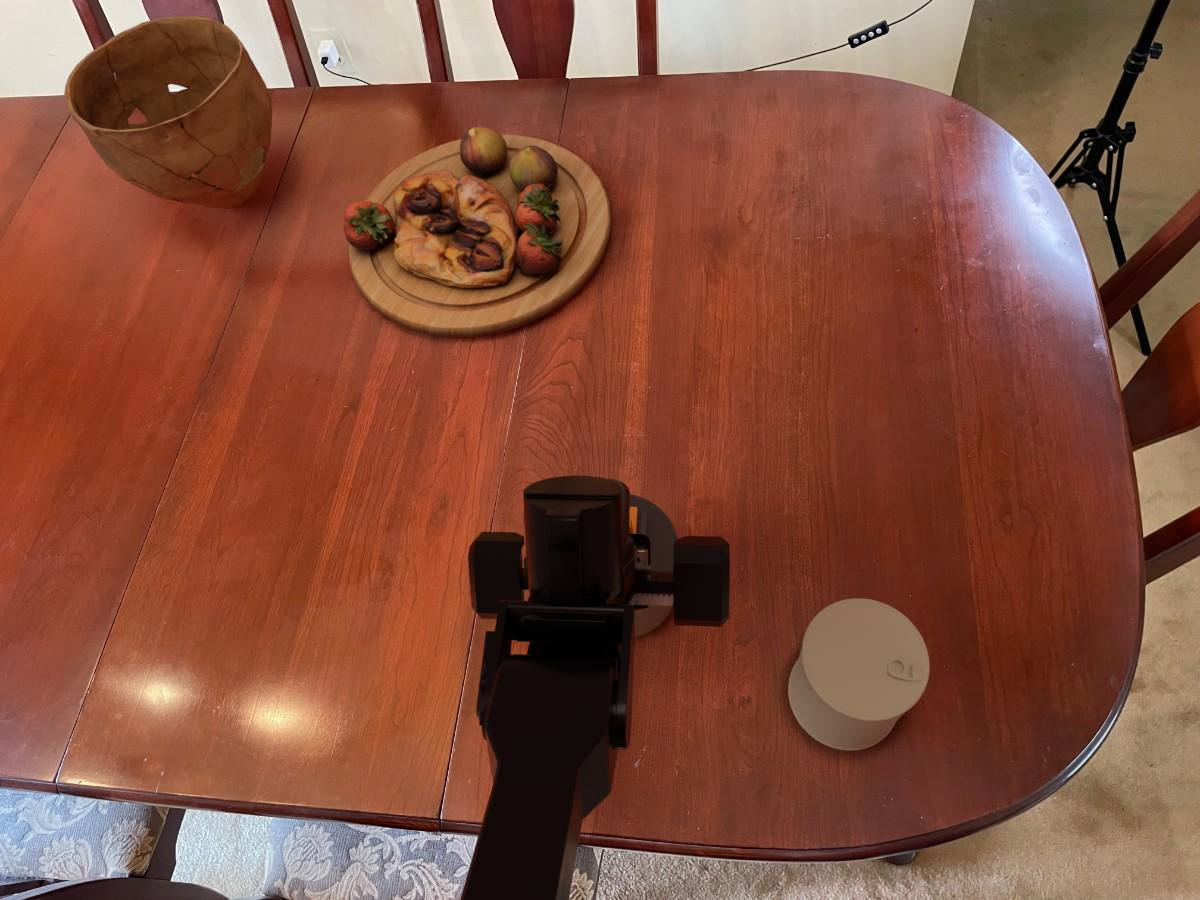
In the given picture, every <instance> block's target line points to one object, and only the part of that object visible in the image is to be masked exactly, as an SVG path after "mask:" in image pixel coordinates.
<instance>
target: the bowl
mask: <svg viewBox="0 0 1200 900" xmlns="http://www.w3.org/2000/svg"><path fill="white" fill-rule="evenodd" d="M170 85H174V86H179V87H182V88H184V89H180V90H178V91H177V92H175V93H174V94H173V93H171V91H170V88H169V86H170ZM63 93H64V94H63V95H64V102H65V107H66V110H67V112H68V113H69V115H70V116H71V117H72V118H73V120H74V121H75V122H76V123H77V124H78V126H79V127H80V128H81V130H82V131H83V133H84V134H85V136H86V137H87V139H88V141H89V143H90V145H91V147H92V148H93V150H94V151H95V153H96V154H97V155H98V157H100V159H101V160H102V162H103V163H104V164H105V165H106V166H107V167H108V168H109V169H110V170H111V171H112V172H113V173H115V174H116V175H117V176H118V177H119V178H121V179H122V180H124V181H125V182H127V183H129V184H130V185H133V186H135V187H137V188H139V189H141V190H143V191H145V192H146V193H149V194H150V195H154V196H156V197H159V198H161V199H164V200H166V201H171V202H176V203H181V204H190V205H195V206H199V207H203V208H209V209H218V210H219V209H220V210H227V209H232V208H236V207H239V206H241V205H242V204H244V203H245V202H246V201H248V200H249V199H250V198H251V197H252V196H253V194H254V193H255V192H256V190H257V188H258V186H259V185H260V184H261V183H260V182H261V179H262V177H263V173H264V169H265V166H266V163H267V159H268V156H269V152H270V149H271V139H272V127H273V105H272V104H273V103H272V98H271V94H270V91H269V89H268V86H267V84H266V82H265V81H264V79H263V77H262V76H261V73H260V72H259V70H258V69H257V66H256V65H255V63H254V61H253V59H252V58H251V56H250V54H249V52H248V50H247V49H246V47H245V46H244V43H243V42H242V41H241V39H239V37H238V35H237V34H236V32H234V31H233V30H232V29H231V28H230V27H229V26H228V25H226V24H224V23H222V22H220V21H218V20H216V19H215V18H214V17H213V18H212V17H209V16H203V15H202V16H201V15H199V16H198V15H169V16H163V17H160V18H156V19H150V20H146V21H144V22H140V23H138V24H136V25H135V26H132V27H130V28H127V29H125V30H123V31H121V32H119V33H117V34H115V35H114V36H112V37H110V38H109V39H108V40H107V41H105V42H104V43H103V44H101V45H99V46H98V47H96V48H95V49H93V50H92V51H91V52H88V53H87V54H86V56H84V57H83V58H82V59H81V60H80V61H79V62H78V63H77V64H75V66H74V68H73V69H72V70H71V72H70V74H69V75H68V77H67V80H66V83H65V86H64V92H63ZM136 109H138V110H139V112H140V113H141V114H142V115H143V117H144V118H145V120H146V122H141V123H133V124H132V123H129V120H128V119H129V118H130V117H131V116H132V114H133V112H134V111H135V110H136ZM193 175H195V176H193Z"/></svg>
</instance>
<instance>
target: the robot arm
mask: <svg viewBox="0 0 1200 900" xmlns="http://www.w3.org/2000/svg"><path fill="white" fill-rule="evenodd" d="M522 494H523V495H522V496H523V497H522V498H523V499H522V500H523V525H524V534H525V535H522V534H520V533H518V532H517V531H516V532H515V531H512V532H511V531H481V532H480V533H479V534H478V535H477V536H476V537H475V538H474V540H473V541H472V542H471V544H470V545H469V547H468V554H467V564H468V565H467V566H468V578H469V587H470V588H469V590H470V592H469V593H470V604H471V608H472V609H473V611H474V612H475V613H476V614H477V616H478V617H479V618H480V619H481V620H482V619H483V620H495V626H494V630H485V636H484V644H483V653H482V660H481V666H480V667H481V668H480V675H479V683H478V689H477V690H478V691H477V698H476V706H475V708H476V709H475V715H476V718H477V720H478V725H479V726H480V727H481V732H482V736H483V739H484V740H485V741H486V746H487V753H488V758H489V765H490V773H491V778H492V786H491V789H490V793H489V796H488V801H487V804H486V808H485V811H484V814H483V818H482V822H481V825H480V828H479V831H478V835H477V839H476V842H475V847H474V850H473V853H472V857H471V860H470V863H469V867H468V871H467V874H466V878H465V881H464V884H463V889H462V892H461V895H460V899H459V900H570V897H571V890H572V885H573V879H574V872H575V865H576V860H577V853H578V847H579V842H580V837H581V831H582V826H583V821H584V819H585V818H586V817H588V815H590V814H591V813H592V811H594V810H595V809H596V808H597V807H598V806H599V805H600V804H601V803H602V802H603V801H604V800H605V799H606V798H607V797H608V796H610V794H611V793H612V789H613V788H612V787H613V782H614V774H615V771H616V764H617V758H618V752H619V750H629V747H630V743H631V735H632V723H633V722H632V718H633V695H634V693H633V692H634V668H635V667H634V666H635V642H636V640H635V639H636V637H635V620H634V609H646V608H648V607H649V606H650V605H657V606H672V605H673V604H674V605H673V625H674V626H684V627H710V628H712V627H713V628H721V627H723V626H724V625H725V623H727V621H728V620H729V619H730V597H731V596H730V593H731V590H730V589H731V588H730V586H731V583H730V582H731V547H730V545H731V544H730V543H729V542H728V541H727V540H726V539H725V538H724V537H723V536H715V535H714V536H713V535H712V536H709V535H708V536H707V535H684V536H682V537H677V538H678V539H675V540H674V559H673V572H654V571H652V569H651V544H650V539H649V538H648V536H646V535H644V534H629V523H630V494H631V491H630V487H628V485H627V484H626V483H625V482H623V481H620V480H618V479H615V478H605V477H600V476H595V475H594V476H592V475H563V476H555V477H549V478H544V479H541V480H538V481H535V482H533V483H531V484H528V485H527V486H526V487H525V488H524V489H523V491H522ZM524 545H525V556H524V557H523V548H524ZM525 591H528V593H529V596H528V598H527V600H525ZM658 594H659V595H658ZM663 594H664V595H663ZM669 594H670V595H669ZM513 641H514V642H515V641H516V642H518V643H529V644H528V648H527V649H526V654H521V653H514V654H512V645H513V643H512V642H513Z"/></svg>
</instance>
